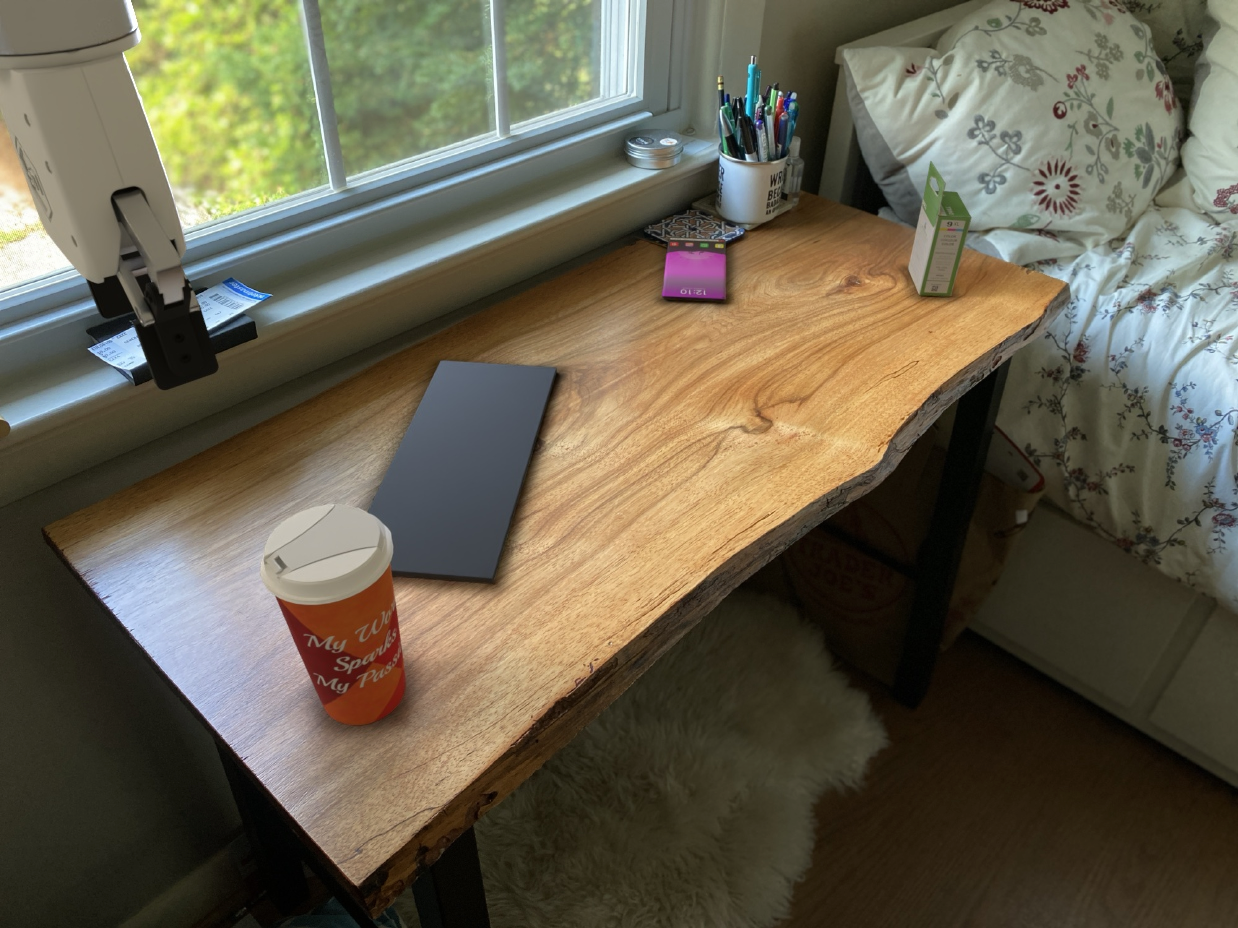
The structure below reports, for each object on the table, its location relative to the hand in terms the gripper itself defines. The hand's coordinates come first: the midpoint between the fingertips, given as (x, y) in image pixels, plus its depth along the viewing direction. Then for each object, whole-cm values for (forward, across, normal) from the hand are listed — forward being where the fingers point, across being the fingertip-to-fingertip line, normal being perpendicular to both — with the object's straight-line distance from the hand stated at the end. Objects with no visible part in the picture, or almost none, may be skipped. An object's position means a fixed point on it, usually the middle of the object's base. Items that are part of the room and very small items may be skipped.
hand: (157, 343), depth 52 cm
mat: (+24, -8, +22) cm, 34 cm away
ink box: (+24, -2, +82) cm, 86 cm away
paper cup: (+24, +10, +4) cm, 27 cm away
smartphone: (+24, -21, +63) cm, 71 cm away
